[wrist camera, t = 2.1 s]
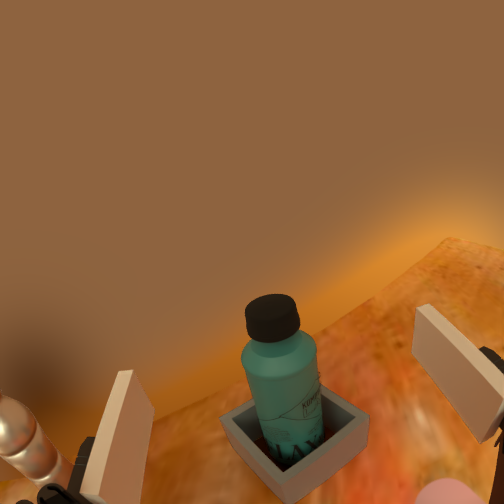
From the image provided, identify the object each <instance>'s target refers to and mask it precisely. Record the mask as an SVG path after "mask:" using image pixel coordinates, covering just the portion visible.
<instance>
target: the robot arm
mask: <svg viewBox="0 0 504 504" xmlns="http://www.w3.org/2000/svg"><path fill="white" fill-rule="evenodd" d="M411 353H412V354H413V355H414V357H415V358H416V359H417V361H418V362H419V363H420V364H421V366H422V367H423V368H424V369H425V371H426V372H427V373H428V374H429V376H430V377H431V378H432V380H433V381H434V382H435V384H436V385H437V386H438V387H439V389H440V390H441V391H442V393H443V394H444V395H445V397H446V398H447V399H448V401H449V402H450V403H451V405H452V406H453V407H454V409H455V410H456V411H457V413H458V414H459V415H460V417H461V418H462V420H463V421H464V422H465V424H466V425H467V426H468V428H469V429H470V431H471V432H472V433H473V435H474V436H475V438H476V439H477V440H478V442H479V443H480V444H481V443H483V442H485V441H486V440H488V439H489V438H491V437H492V436H494V434H495V433H496V431H497V429H498V427H500V428H501V430H502V432H501V434H500V436H499V437H498V439H497V441H496V442H495V445H494V447H496V446H497V445H498V443H499V442H500V444H499V452H498V459H497V465H496V471H495V477H494V482H493V487H492V492H491V496H490V501H489V504H504V360H503V359H501V357H500V356H499V355H498V354H497V353H496V352H494V351H493V350H491V349H489V348H487V347H485V346H483V347H481V348H480V349H478V348H477V347H476V346H475V345H474V344H472V343H471V342H470V341H469V340H468V339H467V338H466V337H465V336H464V335H463V334H462V333H461V332H460V331H459V330H458V329H457V328H456V327H455V326H453V325H452V324H451V323H450V322H449V321H448V320H447V319H446V318H445V317H444V316H443V315H442V314H440V313H439V312H438V311H437V310H436V309H435V308H434V307H433V306H432V305H430V304H429V303H428V304H425V305H422V306H419V307H416V314H415V325H414V335H413V344H412V352H411ZM154 413H155V409H154V408H153V406H152V404H151V402H150V400H149V399H148V397H147V395H146V393H145V392H144V390H143V388H142V386H141V384H140V382H139V380H138V378H137V376H136V374H135V372H134V370H128V371H119V372H118V375H117V377H116V380H115V383H114V386H113V388H112V391H111V394H110V397H109V399H108V402H107V405H106V408H105V411H104V414H103V417H102V420H101V423H100V426H99V429H98V432H97V435H96V437H87V438H86V439H85V441H84V442H83V443H82V445H81V446H80V449H79V452H78V455H77V456H78V457H77V458H76V461H75V465H74V467H73V470H72V474H71V477H70V480H69V483H68V487H67V490H65V489H64V488H63V487H62V486H61V485H59V484H57V483H49V484H46V485H45V486H43V487H42V488H41V489H40V491H39V492H38V495H37V503H38V504H140V498H141V491H142V484H143V477H144V471H145V464H146V458H147V452H148V446H149V440H150V435H151V429H152V423H153V418H154ZM16 504H33V503H32V502H30V501H28V500H20V501H18V502H17V503H16Z"/></svg>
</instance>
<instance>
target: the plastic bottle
mask: <svg viewBox="0 0 504 504" xmlns="http://www.w3.org/2000/svg"><path fill="white" fill-rule="evenodd" d="M1 394H2V391H1V389H0V457H2V458H3V459H4V460H6V461H7V462H8V463H10V464H11V465H12V466H14V467H15V468H16V469H17V470H19V471H20V472H21V473H22V474H23V475H25V476H26V477H27V478H28V479H29V480H30V481H32V482H33V483H34V484H35V485H36V486H37V487H38V488H39V489H41V488H42V487H43V486H45V485H46V484H49V483H57V484H59V485H61V486H62V487H63V488H64V489H65V490H67V487H68V483H69V480H70V477H71V474H72V470H73V467H74V465H73V464H72V463H71V462H70V461H69V460H67V459H66V458H65V457H64V456H63V455H62V454H61V453H60V452H59V451H58V450H57V449H56V448H55V446H54V445H53V444H52V443H51V441H50V440H49V439H48V438H47V436H46V435H45V433H44V432H43V430H42V428H41V427H40V425H39V424H38V422H37V420H36V419H35V417H34V416H33V414H32V413H31V411H30V410H29V409H28V408H27V407H26V406H24V405H23V404H22V403H20V402H18V401H16V400H14V399H12V398H9V397H6V396H3V395H1Z"/></svg>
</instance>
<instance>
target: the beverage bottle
mask: <svg viewBox="0 0 504 504" xmlns="http://www.w3.org/2000/svg"><path fill="white" fill-rule="evenodd" d="M245 317H246V327H247V332H248V335H249V336H250V337H251V338H252V339H251V340H250V341H249V342H248V343H247V344H246V346H245V347H244V349H243V351H242V355H241V362H242V365H243V367H244V369H245V372H246V376H247V379H248V383H249V386H250V390H251V393H252V396H253V400H254V403H255V406H256V411H257V415H258V416H257V420H258V419H259V420H258V422H259V421H260V425H261V427H260V429H261V428H262V431H263V432H261V433H262V435H264V438H265V439H264V438H263V439H264V440H265V441H266V442H265V441H264V442H265V445H266V444H267V447H268V451H269V452H270V454H271V455H272V457H273V459H274V458H275V459H276V460H277V461H279V462H280V463H283V464H287V465H295V464H296V463H298V462H299V461H301V460H302V459H303V458H305V457H306V456H307V455H309V454H310V453H312V452H313V451H314V450H316V449H317V448H318V447H320V446H321V445H322V444H323V443H324V438H325V433H323V432H325V431H324V430H325V426H324V422H323V416H322V412H323V411H322V406H321V399H322V398H321V396H322V395H321V394H322V393H321V392H320V387H321V385H320V384H319V378H320V377H319V375H318V373H319V372H318V368H317V357H316V353H317V348H316V344H315V341H314V340H313V338H312V337H311V336H310V335H308V334H307V333H305V332H304V331H302V330H299V327H300V318H299V314H298V312H297V308H296V304H295V302H294V300H293V299H292V298H291V297H290V296H287V295H283V294H269V295H265V296H262V297H259V298H256V299H255V300H253V301H251V302H250V303H249V304H248V305H247V307H246V309H245ZM321 390H322V389H321ZM320 395H321V396H320ZM323 415H324V413H323ZM270 454H269V455H270Z"/></svg>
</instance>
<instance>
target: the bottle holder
mask: <svg viewBox="0 0 504 504" xmlns="http://www.w3.org/2000/svg"><path fill="white" fill-rule="evenodd" d="M319 384H320V383H319ZM320 385H321V387H320V392H321V393H322V394H321V395H322V396H321V395H320V396H321V398H322V399H321V406H322V411H323V412H322V416H323V422H324V426H325V427H327V428H328V429H330V430H331V431H332V432H334V433H335V435H334V436H332V437H331V438H330V439H329V440H327V441H326V442H325V443H323V444H322V445H321V446H320V447H318V448H317V449H316V450H314V451H313V452H312V453H310V454H309V455H307V456H306V457H305V458H303V459H302V460H301V461H299V462H298V463H296V464H295V465H293V466H292V467H291V468H289V469H288V470H286V471H285V472H282V471H281V470H280V469H279V468H278V467H277V466H276V465H275V464H274V463H273V462H272V461H271V460H270V459H269V458H268V457H267V456H266V455H265V454H264V453H263V452H262V451H261V450H260V449H259V448H258V447H257V446H256V445H255V444H254V443H253V442H254V441H256V440H257V439H259V438H261V437H262V436H264V435H262V433H261V432H263V431H262V428H261V429H260V427H261V425H260V421H259V422H258V420H259V419H258V420H257V416H258V415H257V411H256V406H255V403H254V400H253V398H252V399H251V400H249V401H247V402H246V403H244V404H242V405H241V406H239V407H237V408H235V409H234V410H232V411H230V412H228V413H226V414H225V415H223V416H221V417H219V419H220V422H221V424H222V426H223V428H224V430H225V433H226V435H227V437H228V439H229V441H230V443H231V445H232V447H233V448H234V450H235V451H236V452H237V453H238V454H239V455H240V457H241V458H242V459H243V460H244V461H245V462H246V463H247V464H248V466H249V467H250V468H251V469H252V470H253V471H254V472H255V473H256V474H257V476H258V477H259V478H260V479H261V480H262V481H263V482H264V483H265V484H266V485H267V486H268V487H269V488H270V489H271V490H272V491H273V493H274V494H275V495H276V496H277V497H278V498H279V499H280V500H281V501H282V502H283V503H284V504H294V503H296V502H297V501H299V500H300V499H301V498H303V497H304V496H306V495H307V494H309V493H310V492H311V491H313V490H314V489H315V488H317V487H318V486H319V485H321V484H322V483H323V482H325V481H326V480H327V479H328V478H330V477H331V476H332V475H333V474H335V473H336V472H337V471H338V470H340V469H341V468H342V467H343V466H344V465H346V464H347V463H348V462H349V461H350V460H352V459H353V458H354V457H355V456H356V455H357V454H358V453H360V452H361V451H362V450H363V449H364V448H365V447H366V446H367V439H368V430H369V421H370V415H368V414H367V413H365V412H363V411H362V410H360V409H359V408H357V407H355V406H354V405H352V404H351V403H349V402H348V401H346V400H345V399H343V398H341V397H340V396H338V395H337V394H335V393H334V392H332V391H331V390H329V389H328V388H326V387H325V386H323V385H322V384H320ZM321 389H322V390H321ZM323 413H324V415H323Z"/></svg>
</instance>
